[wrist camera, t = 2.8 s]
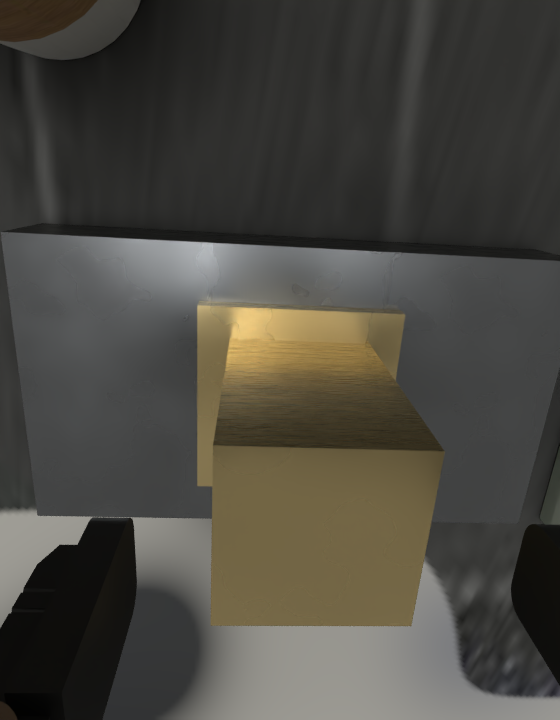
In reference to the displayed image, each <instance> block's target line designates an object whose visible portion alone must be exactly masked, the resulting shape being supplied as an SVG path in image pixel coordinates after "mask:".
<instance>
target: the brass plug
mask: <svg viewBox="0 0 560 720" xmlns="http://www.w3.org/2000/svg"><path fill="white" fill-rule="evenodd" d="M404 320H405V314H404V313H403V312H402V311H401V310H394V309H372V308H349V307H327V306H304V305H282V304H259V303H237V302H214V301H199V303H198V305H197V486H212V562H211V626H213V625H214V626H215V625H216V626H218V625H219V626H222V625H223V626H235V625H236V626H250V625H251V626H411V624H412V619H413V614H414V609H415V604H416V599H417V593H418V588H419V583H420V578H421V573H422V568H423V562H424V557H425V552H426V547H427V542H428V537H429V531H430V526H431V521H432V516H433V511H434V505H435V500H436V495H437V490H438V485H439V480H440V474H441V469H442V464H443V459H444V454H445V451H444V449H443V448H442V447H441V445H440V444H439V442H438V441H437V439H436V438H435V437H434V435H433V434H432V432H431V431H430V429H429V428H428V427H427V425H426V424H425V422H424V421H423V419H422V418H421V416H420V415H419V414H418V412H417V411H416V409H415V408H414V406H413V405H412V404H411V402H410V401H409V399H408V398H407V396H406V395H405V394H404V392H403V391H402V389H401V388H400V386H399V385H398V384H397V382H396V375H397V368H398V361H399V354H400V347H401V341H402V334H403V327H404Z"/></svg>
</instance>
